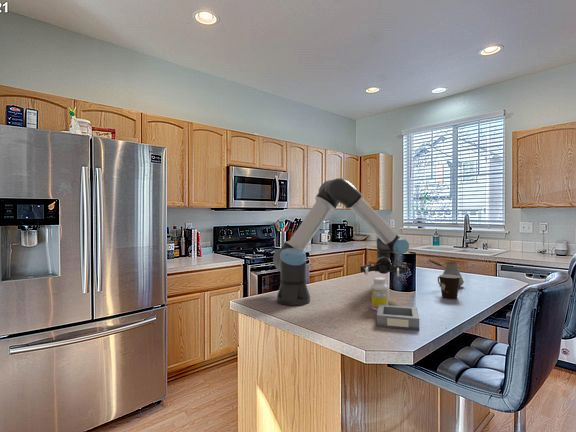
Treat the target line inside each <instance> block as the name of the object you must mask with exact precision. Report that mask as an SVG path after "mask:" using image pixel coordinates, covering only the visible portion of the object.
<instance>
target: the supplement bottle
mask: <svg viewBox="0 0 576 432" xmlns="http://www.w3.org/2000/svg"><path fill="white" fill-rule="evenodd" d="M373 282H374V283H372V284H371V288H370V289H371V309H372V310H374V311H376V312H377V311H378V306H379V305H389V287H388V285H387V284H386V278H385V277H379V276H378V277H377V276H376V277H374V278H373Z"/></svg>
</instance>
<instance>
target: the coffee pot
mask: <svg viewBox="0 0 576 432" xmlns="http://www.w3.org/2000/svg"><path fill="white" fill-rule="evenodd" d="M431 263H432V264H434V265H436V266H439V267H442V268H443V270H444V271H443V272H442V275H456V276H459V277H460V279H459V287H458V288H460V287H462V286H463V284H464V282H465V281H464V279H463V276H462V273H461V272H460V270H459V268H458V264H459V262H458V261H445V262H444V263H445V265H446V266H445V265H443V264H440V263H438V262H437V261H434V260H431V259H429V260H428V261H427V264H428V265H429V264H431Z"/></svg>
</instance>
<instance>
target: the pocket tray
mask: <svg viewBox="0 0 576 432" xmlns="http://www.w3.org/2000/svg"><path fill="white" fill-rule="evenodd" d="M376 327H379V328H391V329H401V330H410V331H411V330H413V331H420V315H419V310H418V307H413V306H403V305H390V304H388V305H379V306H378V311H376Z"/></svg>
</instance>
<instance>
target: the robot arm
mask: <svg viewBox="0 0 576 432" xmlns="http://www.w3.org/2000/svg"><path fill="white" fill-rule="evenodd" d="M339 204H341V205H343V206H344V207H345V208H346V209H349V210H351V211H352V212H353V213H354V215H356V216H357V217H358V218H359V219H360V220H361V221H362V222H363V224H365V225H366V227H368V229H370V231H371V232H373V233H374V234H375V236H376V239H375V240H376V263H375V264H372V263H367V264H365V265H362V266H360V268H359V269H360V272H361V273H364V274H365V276H368V274H369V273H371V272H378V273H379V274H382V275H384V274H387V273H391V272H393V273H396V274H397V275H396V277H400V274H406V273H407V269H406V267H404V266H402V265H399V264H398V263H397V264H394V265H393V262H392V263H391V260H390V253H391V252H392V254H397V255H403V254H404V255H405V254H406V253H407V252H408V251H409V248H410V243H409V241H408V240H407V239H405V238H403V237H401V236H399V234H397V232H395V231H394V230H393V228H391V227H390V226H389V224H387V222H386V221H385V220H384V219H383V218H382V217H381V216H380V215H379V214H378V213H377V212H376V211H375V210H374V209H373V207H372V206H370V204H369V203H367V201H366V200H365V198H363V194H362V192H360V191H359V189H357V188H356V186H355V185H353V184H352V183H351V182H350V181H348V180H347V179H346V178H341V177H339V178H338V177H337V178H334V179H331V180H330V179H329V180H326V181H324V182H323V183H322V184H321V185H320V187H319V189H318V193H317V194H316V196H315V203H314V204H313V206H312V207H311V209H310V210H309V212H308V213H307V215H306V216H305V217H304V219H303V220H302V221H301V224H299V226H298V228H297V229H296V230H295V232H294V233H293V235H292V237H291V238H290V240H288V241H284V243H283V245H281V247H280V248H278V249H277V250H276V251H275V253H274V254H273V258H272V262H273V266H274V267H275V269H276V270H277V271H278V272H280V286H279V288H278V292H277V295H276V302H277V303H278V304H280V305H283V306H303V305H306V304H309V303H310V302H311V296H310V292H309V289H308V286H307V254H306V251H305V250H306V248H307V246H308V245H309V243H310V242H311V241H312V239H313V238H314V235H316V233H317V231H319V228H320V227H321V225H322V224H323V222H324V221H325V220H326V218H327V216H328V215H329V214H330V212H331V211H335V210H336V208H337V207H338V206H339Z"/></svg>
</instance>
